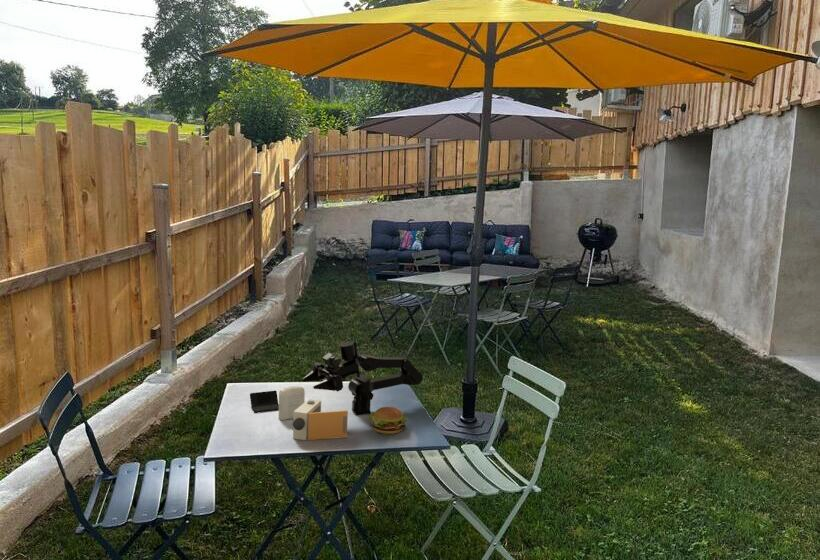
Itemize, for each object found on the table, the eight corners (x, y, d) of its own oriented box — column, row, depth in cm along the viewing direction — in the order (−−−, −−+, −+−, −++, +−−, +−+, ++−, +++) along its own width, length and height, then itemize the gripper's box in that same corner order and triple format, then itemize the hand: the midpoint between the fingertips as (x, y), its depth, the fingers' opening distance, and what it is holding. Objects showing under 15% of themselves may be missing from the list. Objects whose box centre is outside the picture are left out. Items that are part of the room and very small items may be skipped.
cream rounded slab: (301, 413, 246) (301, 383, 244) (305, 416, 242) (306, 386, 241) (276, 417, 240) (277, 387, 238) (281, 421, 237) (281, 390, 235)
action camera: (308, 424, 235) (308, 397, 233) (320, 425, 234) (321, 398, 232) (291, 439, 220) (291, 411, 218) (304, 441, 219) (305, 413, 217)
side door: (346, 436, 225) (347, 410, 223) (347, 437, 223) (347, 411, 222) (306, 439, 220) (307, 412, 219) (307, 440, 219) (307, 414, 218)
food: (364, 423, 239) (365, 403, 237) (400, 421, 242) (401, 401, 241) (372, 437, 226) (372, 416, 224) (409, 434, 229) (410, 414, 228)
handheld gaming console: (256, 411, 242) (254, 386, 246) (249, 417, 247) (247, 393, 251) (284, 410, 249) (280, 386, 253) (276, 416, 254) (274, 393, 258)
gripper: (329, 345, 247) (294, 357, 239) (352, 357, 233) (315, 371, 224) (333, 370, 251) (298, 383, 242) (356, 384, 236) (320, 399, 227)
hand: (308, 383), depth 234 cm, fingers open, 9 cm apart
